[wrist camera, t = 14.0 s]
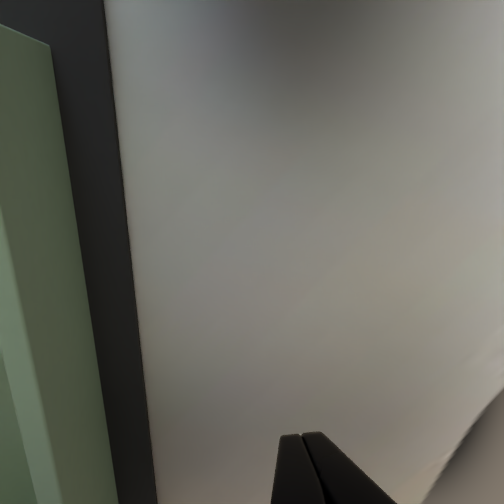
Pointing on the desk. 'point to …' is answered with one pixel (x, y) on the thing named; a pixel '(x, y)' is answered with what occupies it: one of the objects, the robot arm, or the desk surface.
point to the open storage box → (44, 302)
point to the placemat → (98, 220)
